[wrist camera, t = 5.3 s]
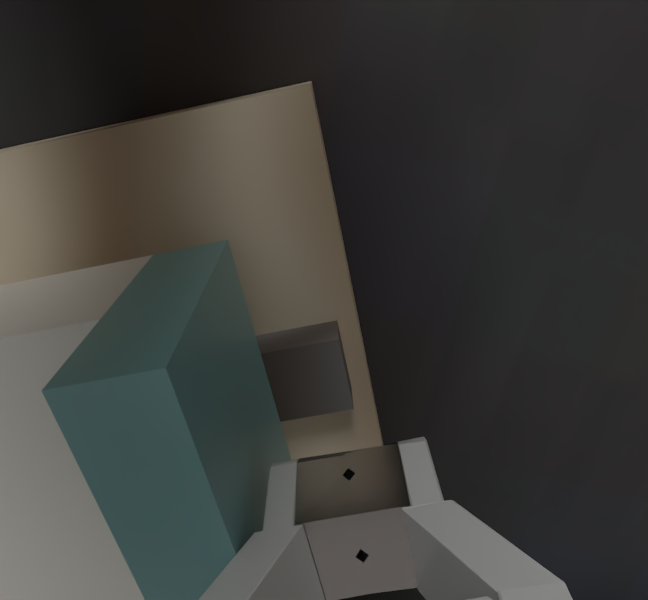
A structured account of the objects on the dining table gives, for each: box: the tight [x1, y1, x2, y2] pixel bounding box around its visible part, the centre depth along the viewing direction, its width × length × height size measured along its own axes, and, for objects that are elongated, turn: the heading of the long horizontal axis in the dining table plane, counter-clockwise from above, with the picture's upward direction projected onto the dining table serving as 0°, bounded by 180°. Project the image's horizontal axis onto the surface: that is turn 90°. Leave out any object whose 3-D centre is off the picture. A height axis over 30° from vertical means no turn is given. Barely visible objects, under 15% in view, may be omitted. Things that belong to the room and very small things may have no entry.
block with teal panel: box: [0, 240, 291, 600], centre depth 11 cm, size 7×10×5 cm, turn 11°
